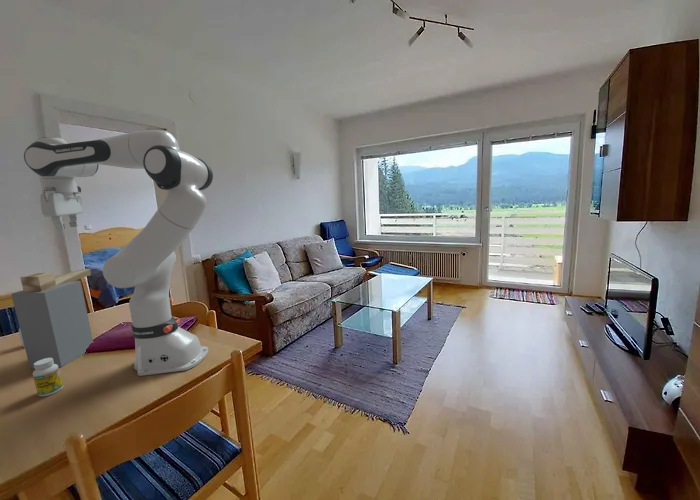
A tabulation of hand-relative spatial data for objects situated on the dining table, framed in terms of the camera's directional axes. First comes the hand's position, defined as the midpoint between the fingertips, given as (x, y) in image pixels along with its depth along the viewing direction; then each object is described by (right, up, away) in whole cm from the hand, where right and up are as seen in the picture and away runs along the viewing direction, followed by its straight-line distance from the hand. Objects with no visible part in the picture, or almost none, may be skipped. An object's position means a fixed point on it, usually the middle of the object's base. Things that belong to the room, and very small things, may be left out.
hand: (67, 228), depth 107 cm
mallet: (-4, -19, +2) cm, 20 cm away
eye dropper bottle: (-26, -45, +13) cm, 53 cm away
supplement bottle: (+11, -49, -18) cm, 53 cm away
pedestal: (-3, -46, +2) cm, 46 cm away
